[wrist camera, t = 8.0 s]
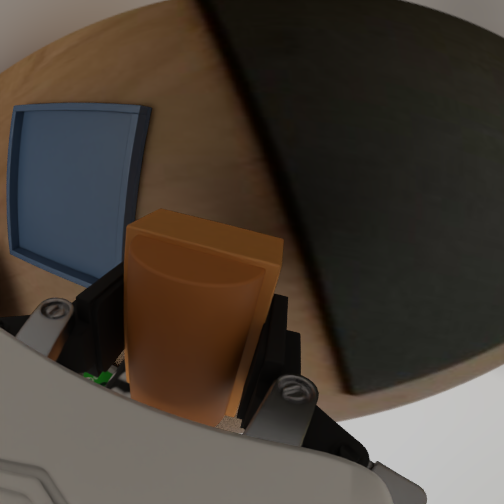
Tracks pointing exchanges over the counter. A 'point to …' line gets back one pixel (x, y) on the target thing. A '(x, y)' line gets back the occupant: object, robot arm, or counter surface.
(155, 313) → the orange hollowed block
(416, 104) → the counter surface
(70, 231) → the tray
